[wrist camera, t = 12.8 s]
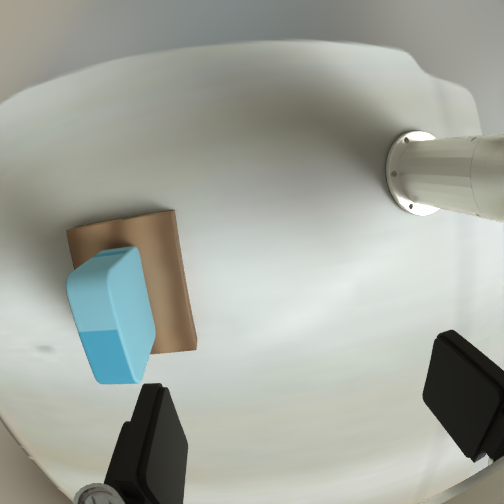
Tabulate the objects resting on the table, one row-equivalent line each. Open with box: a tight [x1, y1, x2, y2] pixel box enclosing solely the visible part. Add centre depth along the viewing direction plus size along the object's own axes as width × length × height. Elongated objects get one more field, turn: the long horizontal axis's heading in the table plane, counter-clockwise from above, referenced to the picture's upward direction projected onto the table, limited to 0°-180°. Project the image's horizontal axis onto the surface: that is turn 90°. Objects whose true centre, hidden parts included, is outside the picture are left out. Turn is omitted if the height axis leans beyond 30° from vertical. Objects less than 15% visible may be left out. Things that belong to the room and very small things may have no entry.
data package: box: [66, 246, 155, 384], centre depth 31 cm, size 12×4×12 cm, turn 6°
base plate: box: [66, 210, 197, 354], centre depth 38 cm, size 14×18×3 cm
